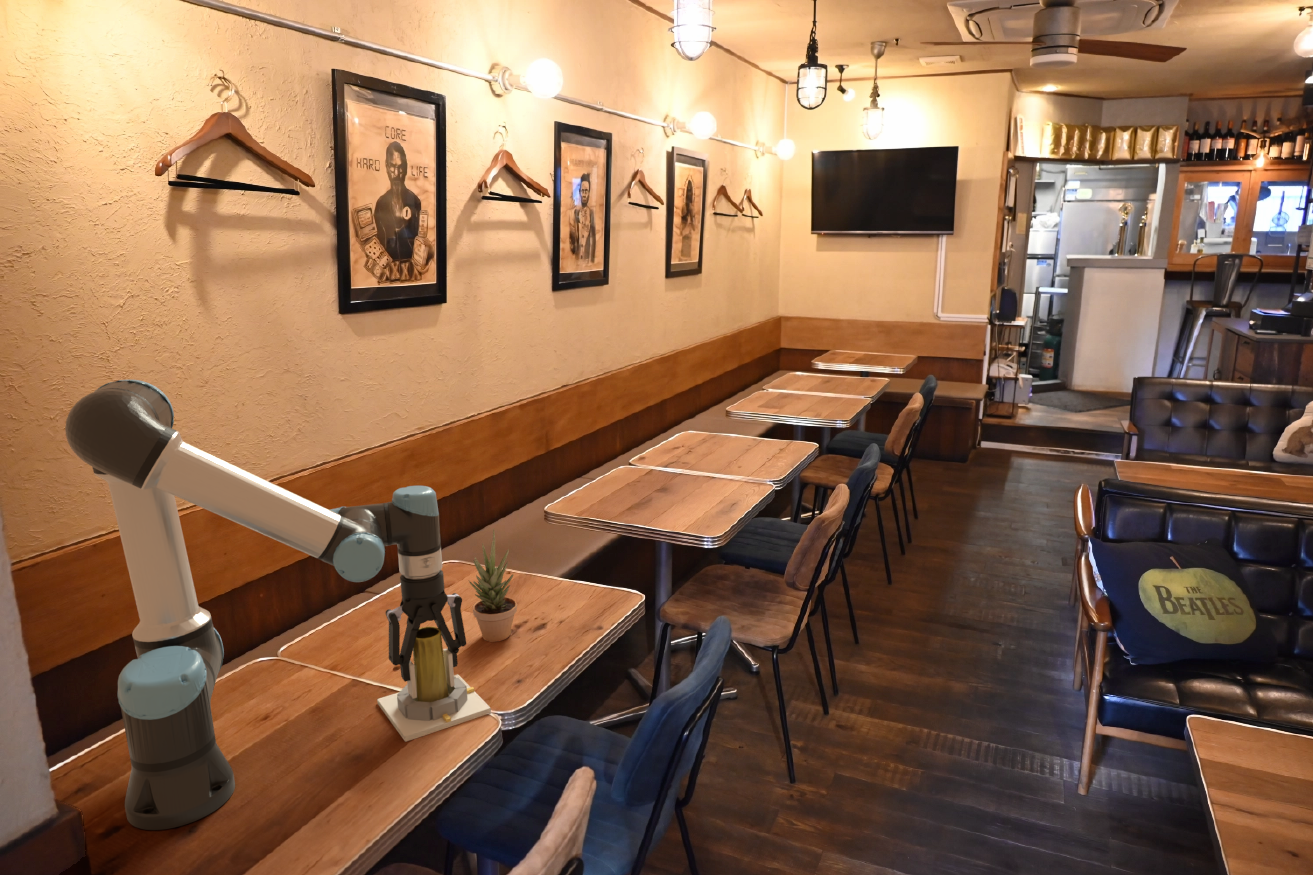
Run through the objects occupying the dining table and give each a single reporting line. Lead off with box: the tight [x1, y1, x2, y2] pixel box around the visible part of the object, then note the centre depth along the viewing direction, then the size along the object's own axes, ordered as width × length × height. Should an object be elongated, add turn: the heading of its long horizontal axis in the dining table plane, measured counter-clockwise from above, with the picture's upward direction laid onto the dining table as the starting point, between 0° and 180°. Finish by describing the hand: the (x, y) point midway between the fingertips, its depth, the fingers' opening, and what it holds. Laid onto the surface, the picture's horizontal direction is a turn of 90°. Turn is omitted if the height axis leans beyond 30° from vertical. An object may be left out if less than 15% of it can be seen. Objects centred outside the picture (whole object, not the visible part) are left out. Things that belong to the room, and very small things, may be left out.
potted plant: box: [468, 528, 518, 643], centre depth 190 cm, size 10×10×25 cm
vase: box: [412, 626, 449, 702], centre depth 161 cm, size 6×6×14 cm
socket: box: [376, 674, 492, 742], centre depth 162 cm, size 16×16×4 cm
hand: (431, 688), depth 162 cm, fingers open, 6 cm apart
